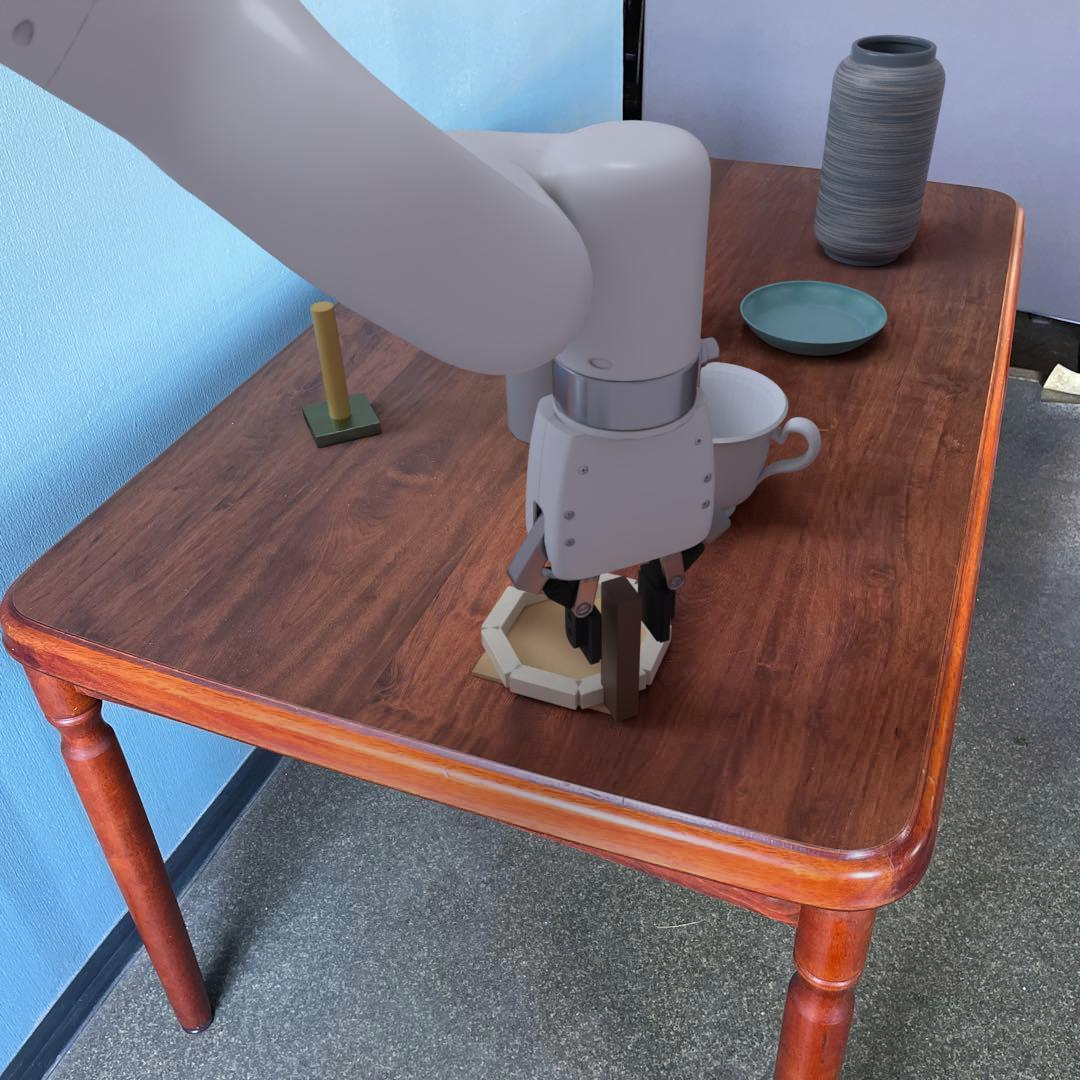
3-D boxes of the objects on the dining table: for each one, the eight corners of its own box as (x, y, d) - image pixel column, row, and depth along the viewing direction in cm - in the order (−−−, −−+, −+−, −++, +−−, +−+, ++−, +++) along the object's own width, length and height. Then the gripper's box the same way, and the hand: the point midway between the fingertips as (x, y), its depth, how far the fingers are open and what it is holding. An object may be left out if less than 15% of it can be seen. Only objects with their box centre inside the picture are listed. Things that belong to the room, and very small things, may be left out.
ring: (463, 611, 78) (452, 499, 72) (617, 566, 82) (619, 456, 76) (538, 748, 68) (532, 631, 61) (711, 690, 71) (722, 574, 65)
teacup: (784, 575, 81) (800, 464, 75) (603, 525, 86) (604, 419, 80) (827, 491, 89) (844, 385, 83) (659, 451, 95) (664, 349, 89)
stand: (317, 448, 97) (294, 327, 90) (303, 416, 101) (280, 299, 94) (382, 433, 99) (364, 313, 91) (365, 403, 103) (347, 286, 96)
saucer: (914, 344, 109) (919, 320, 107) (797, 381, 104) (800, 356, 102) (821, 291, 119) (824, 268, 118) (710, 321, 114) (711, 298, 113)
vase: (792, 255, 127) (817, 47, 113) (842, 225, 134) (871, 26, 120) (882, 280, 121) (919, 64, 107) (929, 248, 128) (971, 40, 114)
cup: (497, 441, 97) (491, 341, 91) (520, 396, 103) (515, 299, 97) (589, 451, 95) (588, 349, 89) (606, 404, 101) (607, 306, 95)
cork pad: (624, 718, 70) (624, 714, 70) (472, 675, 74) (471, 671, 73) (674, 613, 78) (674, 609, 78) (534, 579, 81) (534, 575, 81)
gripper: (729, 317, 61) (708, 568, 72) (448, 380, 56) (472, 638, 67) (803, 376, 55) (768, 638, 66) (498, 451, 50) (516, 720, 62)
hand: (619, 636), depth 67 cm, fingers open, 3 cm apart
